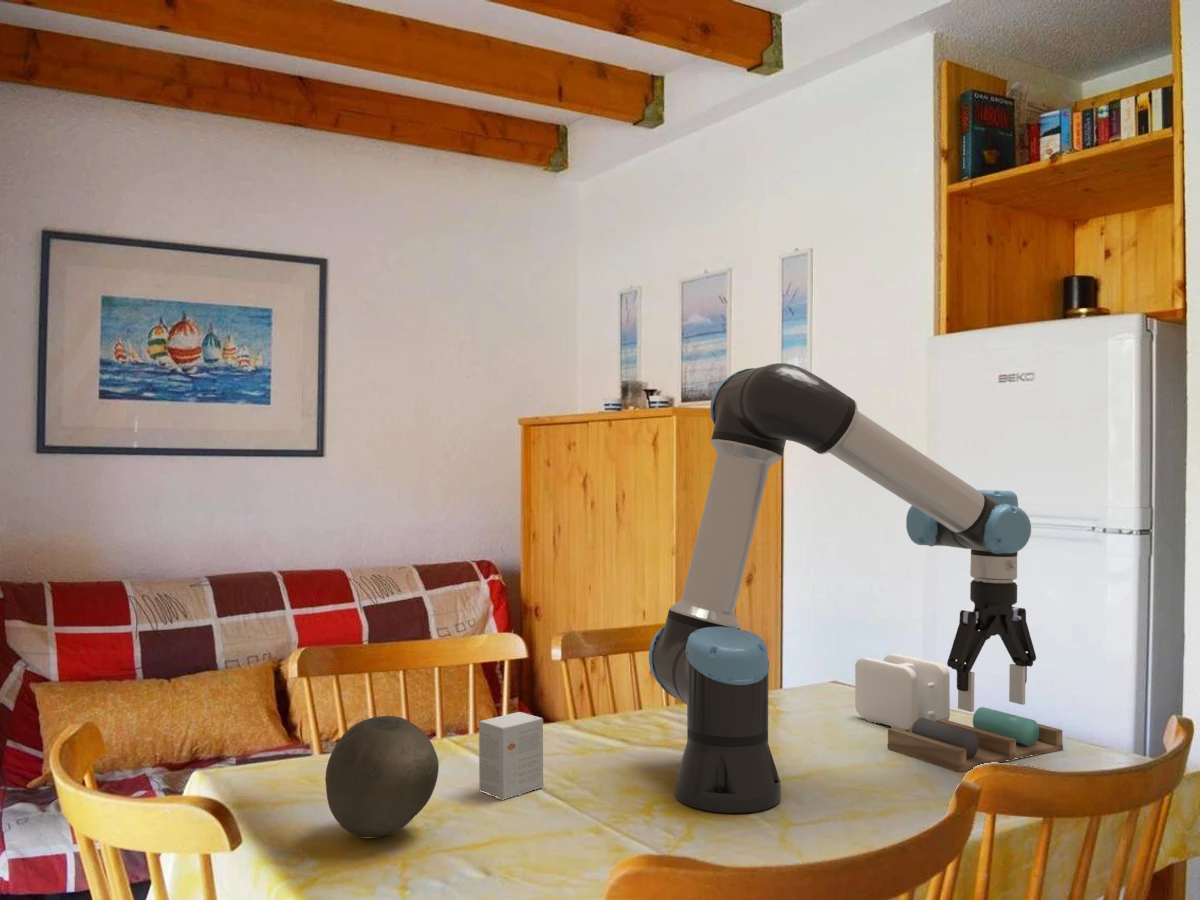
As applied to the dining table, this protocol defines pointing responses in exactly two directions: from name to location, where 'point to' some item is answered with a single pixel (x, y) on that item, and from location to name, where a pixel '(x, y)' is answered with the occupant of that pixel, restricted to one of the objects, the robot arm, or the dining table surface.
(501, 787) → the small box
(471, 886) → the dining table surface
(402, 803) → the dark grey rounded lump
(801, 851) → the dining table surface
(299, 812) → the dining table surface
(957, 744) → the black rod
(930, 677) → the cable organizer
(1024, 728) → the teal rod
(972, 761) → the slot board
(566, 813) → the dining table surface
